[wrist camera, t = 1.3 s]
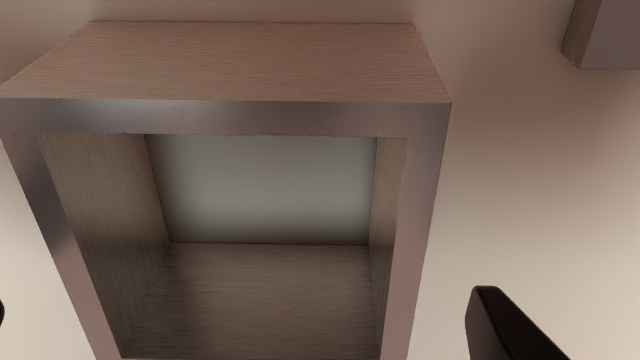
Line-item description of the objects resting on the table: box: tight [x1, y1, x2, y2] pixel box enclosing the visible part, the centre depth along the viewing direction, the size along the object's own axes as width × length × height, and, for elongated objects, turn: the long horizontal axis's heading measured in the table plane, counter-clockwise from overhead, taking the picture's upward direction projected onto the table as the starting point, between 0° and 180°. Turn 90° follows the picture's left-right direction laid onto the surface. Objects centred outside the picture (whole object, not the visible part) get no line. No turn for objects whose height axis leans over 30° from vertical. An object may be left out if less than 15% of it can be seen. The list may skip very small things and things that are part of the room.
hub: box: [0, 21, 452, 360], centre depth 11 cm, size 7×7×4 cm
